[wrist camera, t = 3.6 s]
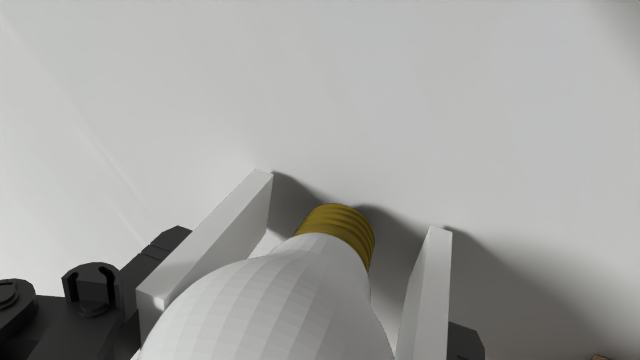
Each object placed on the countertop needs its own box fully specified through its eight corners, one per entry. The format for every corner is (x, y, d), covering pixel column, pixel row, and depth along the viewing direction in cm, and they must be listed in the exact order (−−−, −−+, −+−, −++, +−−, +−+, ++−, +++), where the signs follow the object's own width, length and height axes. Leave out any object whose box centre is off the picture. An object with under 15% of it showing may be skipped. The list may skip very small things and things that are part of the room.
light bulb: (352, 116, 13) (160, 385, 5) (460, 246, 14) (453, 653, 6) (242, 201, 16) (6, 459, 8) (338, 304, 17) (218, 630, 9)
